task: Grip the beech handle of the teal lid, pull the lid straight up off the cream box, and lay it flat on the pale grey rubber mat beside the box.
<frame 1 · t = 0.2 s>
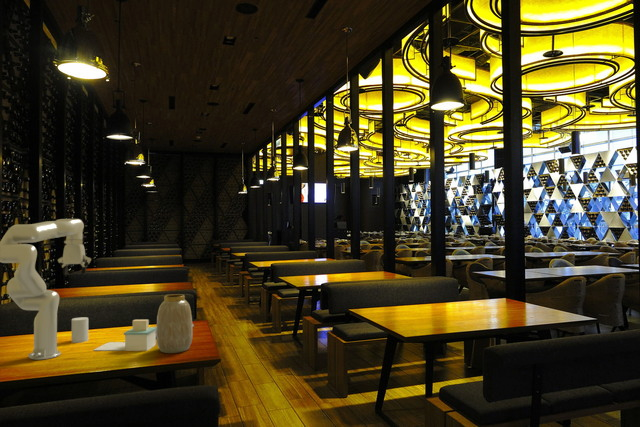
hand: (74, 274, 247), 37 cm above the table, tool pointing down, fingers open, 9 cm apart
decorative plate: (169, 333, 269), on the table
vase: (174, 350, 231), on the table
cup: (80, 341, 252), on the table
lid: (140, 331, 236), point 8 cm above the table, touching box
box: (140, 347, 236), on the table
mat: (115, 346, 238), on the table
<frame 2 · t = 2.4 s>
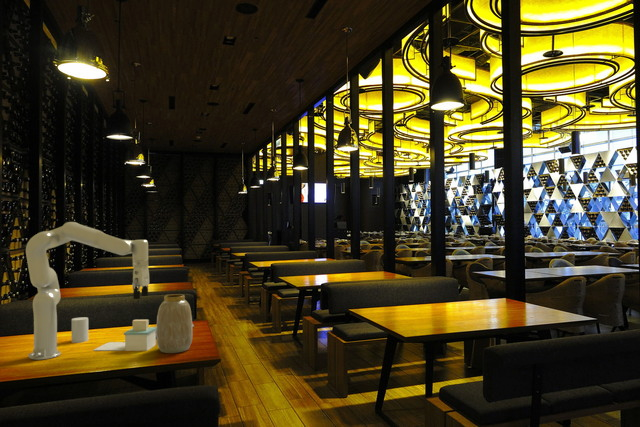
hand: (140, 297, 236), 26 cm above the table, tool pointing down, fingers open, 9 cm apart
nothing on the table moved.
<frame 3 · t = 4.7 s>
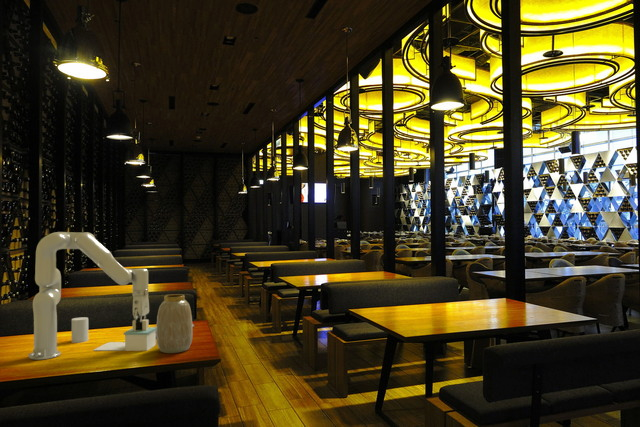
hand: (140, 328, 236), 10 cm above the table, tool pointing down, fingers closed on lid, 3 cm apart
lid: (140, 331, 236), point 8 cm above the table, touching gripper
everything else where it was.
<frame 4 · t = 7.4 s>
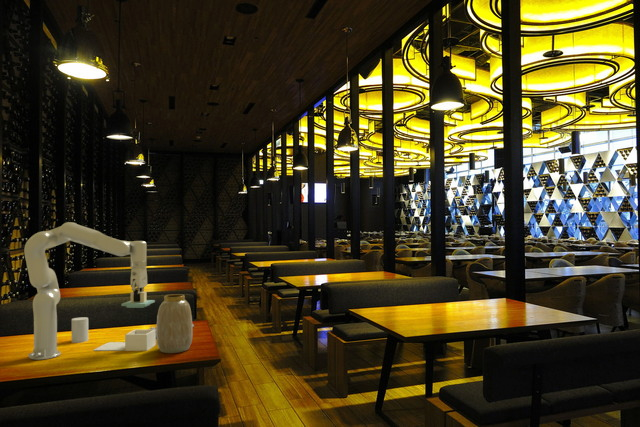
hand: (138, 300, 236), 24 cm above the table, tool pointing down, fingers closed on lid, 3 cm apart
lid: (138, 303, 236), point 22 cm above the table, touching gripper
everything else where it was.
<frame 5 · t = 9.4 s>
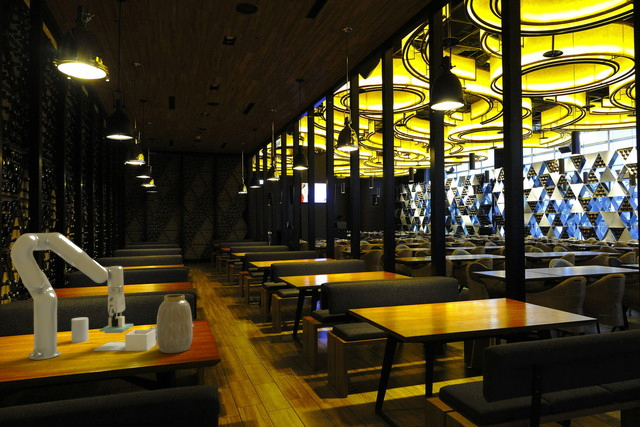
hand: (116, 325, 239), 11 cm above the table, tool pointing down, fingers closed on lid, 3 cm apart
lid: (116, 328, 239), point 9 cm above the table, touching gripper
everything else where it was.
when the fingers open (5 cm above the table, at t = 10.6 s): lid drops 2 cm, resting on mat.
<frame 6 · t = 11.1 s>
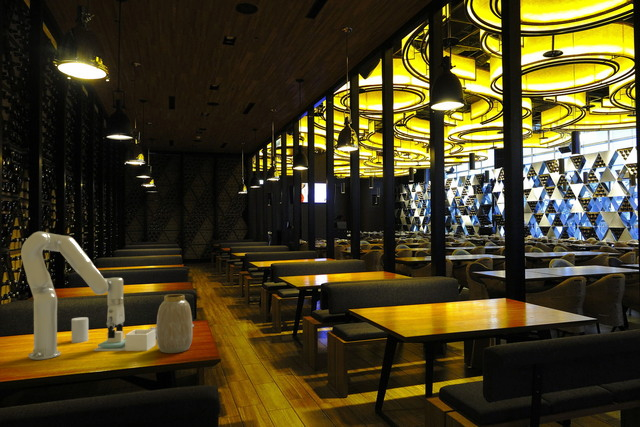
hand: (115, 335, 238), 6 cm above the table, tool pointing down, fingers open, 8 cm apart
lid: (115, 343, 238), point 2 cm above the table, touching mat
everything else where it was.
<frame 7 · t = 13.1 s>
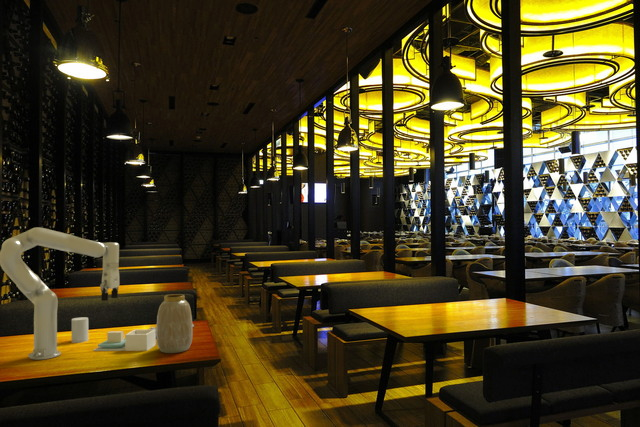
hand: (109, 299, 240), 24 cm above the table, tool pointing down, fingers open, 9 cm apart
nothing on the table moved.
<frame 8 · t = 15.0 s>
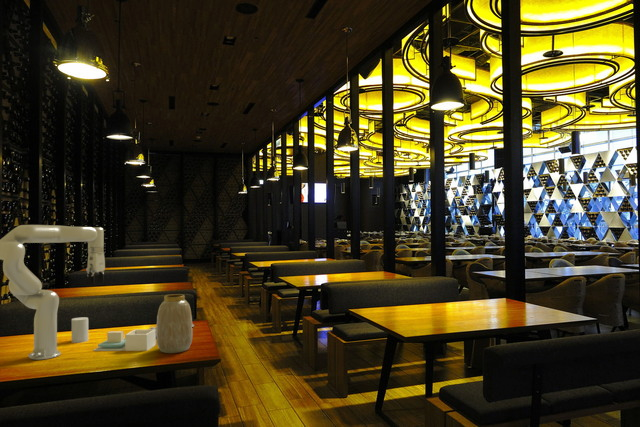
hand: (95, 282, 246), 32 cm above the table, tool pointing down, fingers open, 9 cm apart
nothing on the table moved.
at the end: lid inside the target area on the mat (0.0 cm from its centre), point 1.7 cm above the mat's base; lid tilted 0°; the gripper is holding nothing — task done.
